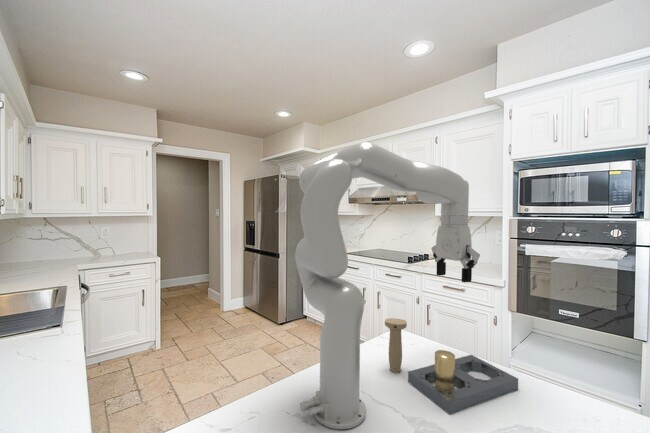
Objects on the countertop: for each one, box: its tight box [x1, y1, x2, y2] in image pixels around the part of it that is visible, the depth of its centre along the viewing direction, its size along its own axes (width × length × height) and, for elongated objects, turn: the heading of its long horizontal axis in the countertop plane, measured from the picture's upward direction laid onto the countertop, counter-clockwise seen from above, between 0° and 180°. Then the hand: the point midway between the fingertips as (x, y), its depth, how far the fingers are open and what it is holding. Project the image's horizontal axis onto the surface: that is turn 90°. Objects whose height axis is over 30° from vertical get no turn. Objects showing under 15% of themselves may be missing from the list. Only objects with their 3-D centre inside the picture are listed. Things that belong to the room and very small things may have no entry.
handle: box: [384, 317, 408, 374], centre depth 92 cm, size 5×6×15 cm
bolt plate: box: [407, 354, 519, 415], centre depth 84 cm, size 25×15×3 cm, turn 114°
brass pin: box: [434, 349, 456, 392], centre depth 81 cm, size 5×5×10 cm
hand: (453, 278), depth 91 cm, fingers open, 9 cm apart
